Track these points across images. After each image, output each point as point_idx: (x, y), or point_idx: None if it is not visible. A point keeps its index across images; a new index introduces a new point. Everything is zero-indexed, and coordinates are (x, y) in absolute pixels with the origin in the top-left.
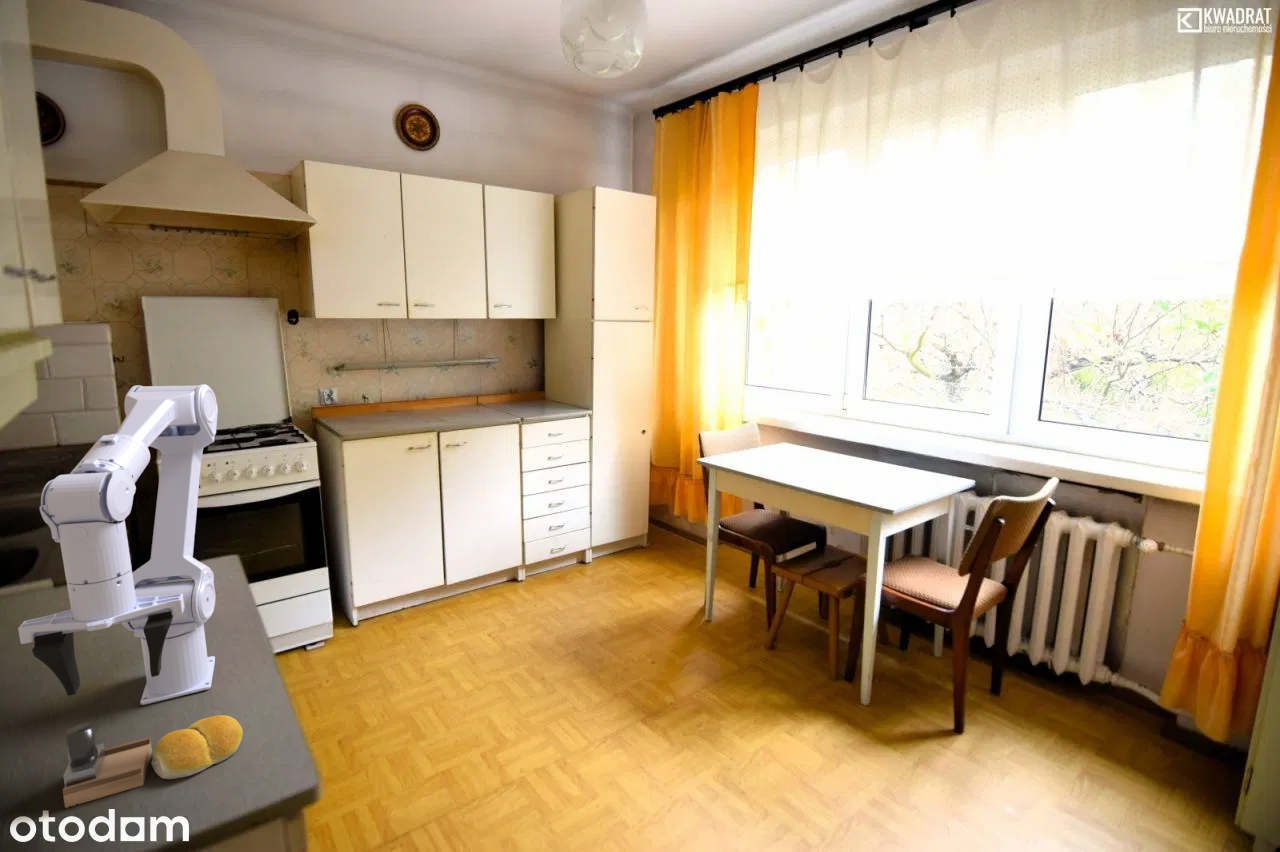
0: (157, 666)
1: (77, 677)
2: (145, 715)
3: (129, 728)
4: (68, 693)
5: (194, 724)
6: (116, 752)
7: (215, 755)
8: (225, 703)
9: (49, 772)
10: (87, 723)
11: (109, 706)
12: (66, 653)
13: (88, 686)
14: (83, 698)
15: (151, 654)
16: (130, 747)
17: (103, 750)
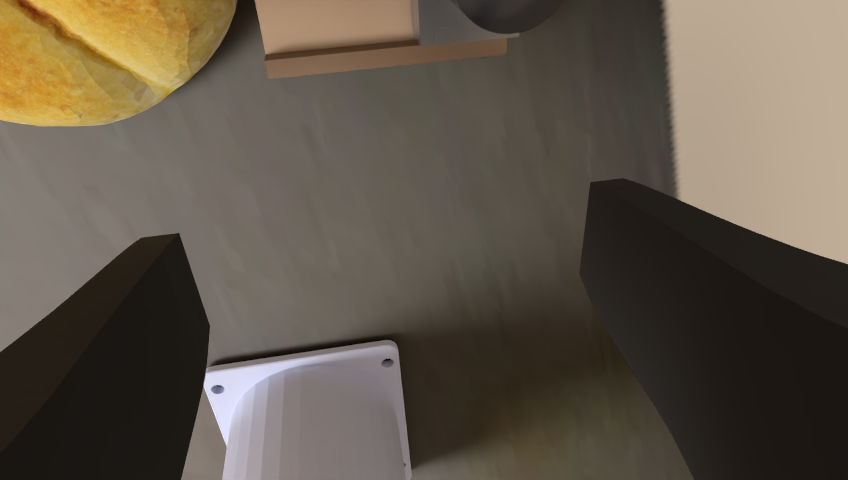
0: (100, 272)
1: (608, 297)
2: (367, 289)
3: (396, 236)
4: (629, 180)
5: (66, 65)
6: (379, 43)
7: None
8: None
9: (576, 78)
10: (486, 23)
11: (480, 360)
12: (804, 411)
13: (547, 450)
14: (549, 408)
15: (70, 340)
16: (331, 48)
17: (415, 18)
